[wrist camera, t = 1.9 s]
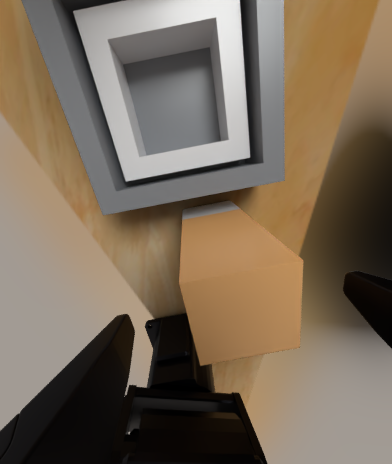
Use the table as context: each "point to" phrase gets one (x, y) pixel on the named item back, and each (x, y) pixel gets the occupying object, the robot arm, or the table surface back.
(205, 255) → the block
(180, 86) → the inlet box
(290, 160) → the table surface
